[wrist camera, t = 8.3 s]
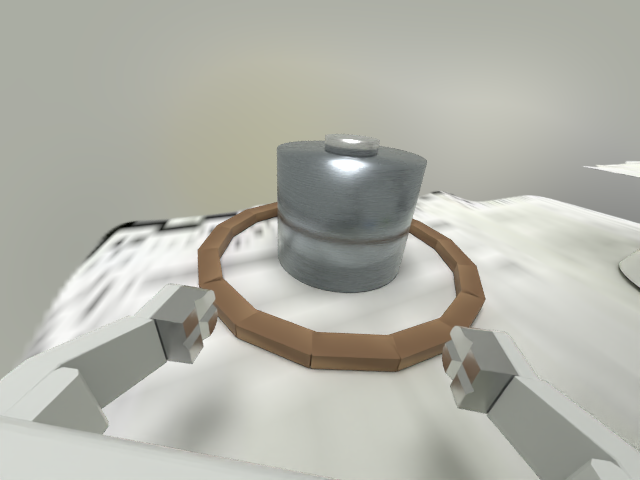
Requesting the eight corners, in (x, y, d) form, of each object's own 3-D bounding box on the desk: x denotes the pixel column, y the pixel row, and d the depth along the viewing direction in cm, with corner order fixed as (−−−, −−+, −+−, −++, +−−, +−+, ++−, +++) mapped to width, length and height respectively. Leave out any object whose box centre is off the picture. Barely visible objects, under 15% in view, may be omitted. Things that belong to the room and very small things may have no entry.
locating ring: (462, 232, 30) (465, 225, 29) (513, 454, 11) (524, 442, 10) (286, 195, 36) (286, 188, 36) (123, 289, 17) (118, 277, 17)
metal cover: (404, 241, 27) (430, 139, 22) (391, 310, 17) (432, 160, 13) (307, 220, 30) (311, 126, 25) (253, 269, 21) (244, 135, 16)
